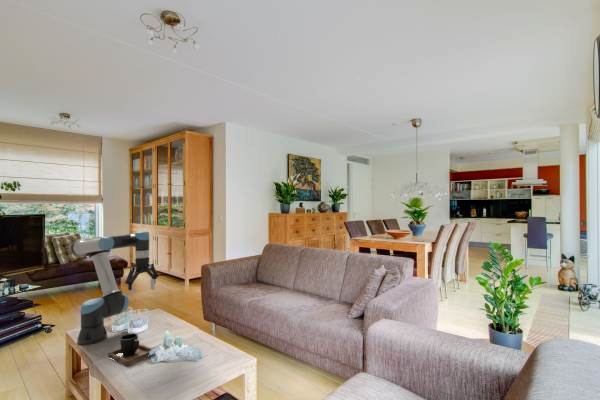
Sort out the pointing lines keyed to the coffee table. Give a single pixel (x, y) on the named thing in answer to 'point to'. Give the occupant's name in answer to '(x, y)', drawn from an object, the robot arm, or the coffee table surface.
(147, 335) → the coffee table surface
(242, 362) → the coffee table surface
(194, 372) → the coffee table surface
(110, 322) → the coffee table surface
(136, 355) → the tray
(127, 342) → the mug
